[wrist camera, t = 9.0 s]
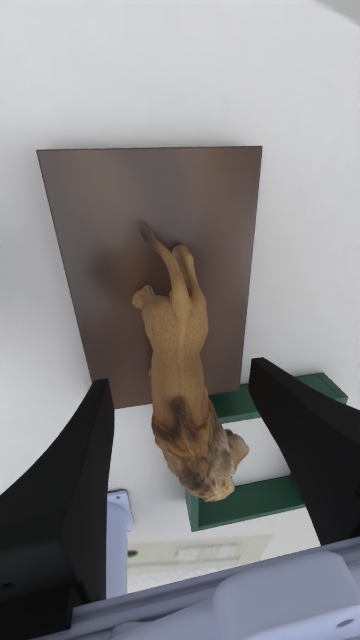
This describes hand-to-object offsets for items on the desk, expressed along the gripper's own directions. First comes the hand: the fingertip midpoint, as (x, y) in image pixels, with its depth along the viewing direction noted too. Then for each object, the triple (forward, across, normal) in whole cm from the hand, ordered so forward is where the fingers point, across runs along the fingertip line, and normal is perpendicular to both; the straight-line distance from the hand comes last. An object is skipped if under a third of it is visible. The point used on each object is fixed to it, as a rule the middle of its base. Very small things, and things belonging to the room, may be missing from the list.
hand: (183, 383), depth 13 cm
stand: (+8, 0, -2) cm, 9 cm away
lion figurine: (+7, -1, +1) cm, 7 cm away
